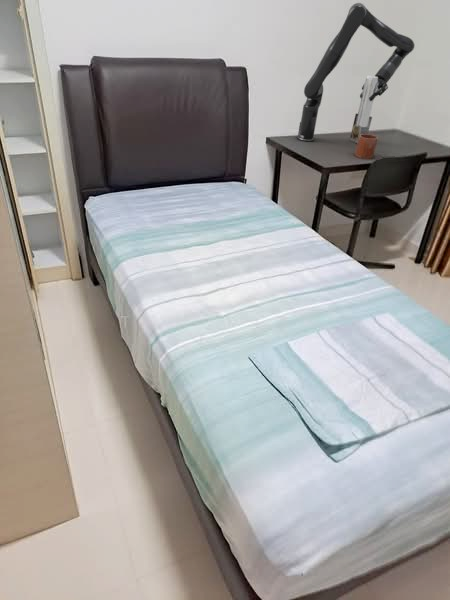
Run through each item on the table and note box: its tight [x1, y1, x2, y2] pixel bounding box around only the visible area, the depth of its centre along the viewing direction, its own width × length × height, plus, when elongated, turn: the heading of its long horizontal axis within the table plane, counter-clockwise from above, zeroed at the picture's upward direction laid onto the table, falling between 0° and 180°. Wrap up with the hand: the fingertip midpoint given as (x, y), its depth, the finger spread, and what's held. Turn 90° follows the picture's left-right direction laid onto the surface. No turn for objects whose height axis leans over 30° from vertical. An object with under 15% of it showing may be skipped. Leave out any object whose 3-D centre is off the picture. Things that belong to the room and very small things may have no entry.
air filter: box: [356, 75, 378, 127], centre depth 234 cm, size 6×6×25 cm
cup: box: [354, 133, 378, 160], centre depth 247 cm, size 10×10×11 cm
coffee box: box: [349, 113, 373, 145], centre depth 271 cm, size 9×6×16 cm
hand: (365, 98), depth 232 cm, fingers closed on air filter, 5 cm apart
